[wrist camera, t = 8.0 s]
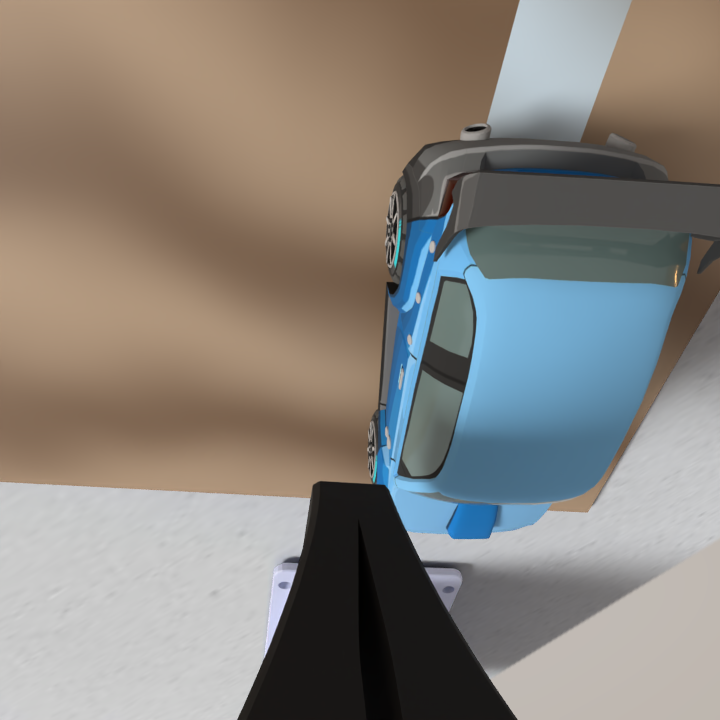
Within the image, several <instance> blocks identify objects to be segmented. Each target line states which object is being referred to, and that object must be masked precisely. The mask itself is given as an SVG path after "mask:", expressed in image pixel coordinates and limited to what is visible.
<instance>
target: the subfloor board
mask: <svg viewBox="0 0 720 720" xmlns="http://www.w3.org/2000/svg"><path fill="white" fill-rule="evenodd" d="M480 123H484V124H488V125H490V126H491V134H490V138H528V139H542V140H556V141H570V142H580V143H589V144H597V145H603V146H605V144H606V142H607V140H608V137H609V135H610V134H611V133H615V134H618V135H620V136H622V137H624V138H626V139H628V140H630V141H632V142H633V143H635V144H636V145H637V146H636V149H635V151H634V152H635V153H638V154H641V155H645V156H647V157H649V158H651V159H652V160H654V161H656V162H658V163H660V164H661V165H663V166H664V167H665V169H666V170H667V173H668V180H669V181H680V182H694V183H708V184H720V0H0V482H14V483H33V484H52V485H72V486H91V487H110V488H129V489H148V490H167V491H186V492H205V493H225V494H244V495H263V496H282V497H301V498H311V492H312V486H313V484H315V483H317V482H319V481H329V482H346V483H364V484H372V481H371V477H370V473H369V469H368V451H367V448H368V430H369V427H370V422H371V419H372V416H373V414H374V412H375V411H376V410H377V409H378V399H379V384H380V369H381V354H382V340H383V325H384V310H385V295H386V282H393V280H392V278H391V276H390V274H389V270H388V265H387V263H386V260H387V259H386V247H385V240H386V226H387V221H386V217H387V216H388V208H389V203H390V196H391V195H392V192H393V189H394V186H395V185H396V183H397V180H398V179H399V178H400V177H401V176H403V173H402V171H403V170H404V168H405V167H406V165H407V164H408V162H409V161H410V160H411V159H412V158H413V157H414V156H415V155H416V154H417V153H418V152H419V151H420V149H421V148H422V147H423V146H424V145H426V144H431V143H436V142H441V141H451V140H460V135H461V131H462V129H463V128H465V127H467V126H469V125H473V124H480ZM713 242H714V241H708V240H703V239H698V238H694V237H692V246H691V257H690V263H689V267H688V272H687V276H686V280H685V283H684V286H683V289H682V292H681V295H680V298H679V300H678V302H677V304H676V307H675V309H674V312H673V315H672V317H671V321H670V324H669V327H668V330H667V333H666V336H665V340H664V343H663V346H662V349H661V353H660V356H659V359H658V362H657V365H656V367H655V370H654V372H653V375H652V377H651V380H650V382H649V385H648V388H647V390H646V393H645V395H644V398H643V401H642V403H641V405H640V407H639V409H638V411H637V413H636V415H635V417H634V419H633V421H632V423H631V425H630V427H629V429H628V431H627V433H626V435H625V437H624V439H623V441H622V443H621V445H620V447H619V449H618V451H617V453H616V454H615V456H614V458H613V460H612V462H611V463H610V465H609V467H608V469H607V470H606V472H605V474H604V475H603V477H602V479H601V480H600V481H599V482H598V483H597V484H596V485H595V487H593V488H591V489H590V490H589V491H587V492H586V493H584V494H583V495H580V496H578V497H576V498H574V499H571V500H568V501H563V502H558V503H552V504H551V506H550V507H549V508H548V510H550V511H569V512H588V511H589V509H590V508H591V506H592V504H593V502H594V501H595V499H596V497H597V496H598V494H599V492H600V491H601V489H602V487H603V486H604V484H605V482H606V481H607V479H608V477H609V476H610V474H611V472H612V471H613V469H614V467H615V465H616V464H617V462H618V460H619V459H620V457H621V455H622V454H623V452H624V450H625V449H626V447H627V445H628V444H629V442H630V440H631V439H632V437H633V435H634V434H635V432H636V430H637V428H638V427H639V425H640V423H641V422H642V420H643V418H644V417H645V415H646V413H647V412H648V410H649V408H650V407H651V405H652V403H653V402H654V400H655V398H656V396H657V395H658V393H659V391H660V390H661V388H662V386H663V385H664V383H665V381H666V380H667V378H668V376H669V375H670V373H671V371H672V370H673V368H674V366H675V365H676V363H677V361H678V359H679V358H680V356H681V354H682V353H683V351H684V349H685V348H686V346H687V344H688V343H689V341H690V339H691V338H692V336H693V334H694V333H695V331H696V329H697V327H698V326H699V324H700V322H701V321H702V319H703V317H704V316H705V314H706V312H707V311H708V309H709V307H710V306H711V304H712V302H713V301H714V299H715V297H716V296H717V294H718V292H719V290H720V258H718V259H717V260H715V261H713V262H712V263H711V264H710V265H709V266H708V267H707V268H706V269H705V270H704V271H703V272H702V273H701V274H697V271H698V268H699V265H700V262H701V260H702V258H703V257H704V255H705V254H706V253H707V251H708V250H709V248H710V247H711V245H712V244H713Z"/></svg>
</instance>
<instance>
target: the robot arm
mask: <svg viewBox="0 0 720 720" xmlns="http://www.w3.org/2000/svg"><path fill="white" fill-rule="evenodd" d="M462 580H463V579H462V575H461V573H460V571H459V570H457V569H453V568H427V567H424V566H423V564H422V562H421V560H420V558H419V556H418V554H417V552H416V550H415V548H414V546H413V544H412V542H411V539H410V537H409V535H408V533H407V531H406V529H405V527H404V524H403V522H402V520H401V518H400V515H399V513H398V511H397V508H396V506H395V504H394V501H393V499H392V496H391V494H390V491H389V489H388V488H387V487H386V486H385V485H381V484H364V483H346V482H329V481H319V482H317V483H315V484H313V486H312V492H311V499H310V506H309V512H308V519H307V525H306V532H305V538H304V545H303V550H302V553H301V557H300V560H299V563H281V564H279V565H277V566H276V567H275V568H274V573H273V582H272V591H271V600H270V609H269V619H268V628H267V637H266V646H265V655H264V660H263V663H262V665H261V667H260V670H259V672H258V675H257V677H256V679H255V681H254V684H253V686H252V688H251V691H250V693H249V695H248V697H247V700H246V702H245V704H244V706H243V709H242V711H241V713H240V715H239V717H238V719H237V720H517V718H516V717H515V715H514V714H513V713H512V711H511V710H510V708H509V707H508V705H507V704H506V702H505V701H504V700H503V698H502V696H501V695H500V694H499V692H498V691H497V689H496V688H495V686H494V685H493V683H492V682H491V680H490V679H489V677H488V676H487V674H486V673H485V671H484V670H483V668H482V666H481V665H480V663H479V662H478V660H477V659H476V657H475V655H474V654H473V652H472V651H471V649H470V647H469V646H468V644H467V642H466V641H465V639H464V637H463V636H462V634H461V632H460V631H459V629H458V627H457V626H456V624H455V622H454V621H453V619H452V617H451V615H450V614H449V611H450V609H451V607H452V604H453V602H454V600H455V598H456V595H457V593H458V591H459V589H460V586H461V584H462Z"/></svg>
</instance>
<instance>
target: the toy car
mask: <svg viewBox="0 0 720 720" xmlns="http://www.w3.org/2000/svg"><path fill="white" fill-rule="evenodd" d="M490 134H491V126H490V125H488V124H484V123H480V124H473V125H469V126H467V127H465V128H463V129H462V131H461V135H460V140H451V141H441V142H436V143H431V144H426V145H424V146H423V147H422V148H421V149H420V151H419V152H418V153H417V154H416V155H415V156H414V157H413V158H412V159H411V160H410V161H409V162H408V164H407V165H406V167H405V168H404V170H403V171H402V173H403V176H401V177H400V178H399V179H398V180H397V183H396V185H395V186H394V189H393V192H392V195H391V196H390V203H389V208H388V216H387V217H386V221H387V226H386V240H385V247H386V259H387V260H386V263H387V265H388V270H389V274H390V276H391V278H392V280H393V282H386V295H385V310H384V325H383V340H382V354H381V369H380V384H379V399H378V409H377V410H376V411H375V412H374V414H373V416H372V419H371V422H370V427H369V430H368V448H367V451H368V469H369V473H370V477H371V481H372V484H381V485H385V486H386V487H387V488H388V489H389V491H390V494H391V496H392V499H393V501H394V504H395V506H396V508H397V511H398V513H399V515H400V518H401V520H402V522H403V524H404V527H405V529H406V531H410V532H417V533H436V534H449V535H450V536H451V537H452V538H453V539H487V538H489V537H490V535H491V533H492V532H503V531H511V530H516V529H519V528H522V527H525V526H528V525H533V524H534V523H535V522H537V521H538V520H539V519H540V518H541V517H542V516H543V514H544V513H545V512H546V511H547V510H548V508H549V507H550V506H551V504H552V503H558V502H563V501H568V500H571V499H574V498H576V497H578V496H580V495H583V494H584V493H586V492H587V491H589V490H590V489H591V488H593V487H595V485H596V484H597V483H598V482H599V481H600V480H601V479H602V477H603V475H604V474H605V472H606V470H607V469H608V467H609V465H610V463H611V462H612V460H613V458H614V456H615V454H616V453H617V451H618V449H619V447H620V445H621V443H622V441H623V439H624V437H625V435H626V433H627V431H628V429H629V427H630V425H631V423H632V421H633V419H634V417H635V415H636V413H637V411H638V409H639V407H640V405H641V403H642V401H643V398H644V395H645V393H646V390H647V388H648V385H649V382H650V380H651V377H652V375H653V372H654V370H655V367H656V365H657V362H658V359H659V356H660V353H661V349H662V346H663V343H664V340H665V336H666V333H667V330H668V327H669V324H670V321H671V317H672V315H673V312H674V309H675V307H676V304H677V302H678V300H679V298H680V295H681V292H682V289H683V286H684V283H685V280H686V276H687V272H688V267H689V263H690V257H691V246H692V237H694V238H698V239H703V240H708V241H714V242H713V244H712V245H711V247H710V248H709V250H708V251H707V253H706V254H705V255H704V257H703V258H702V260H701V262H700V265H699V268H698V271H697V274H701V273H702V272H703V271H704V270H705V269H706V268H707V267H708V266H709V265H710V264H711V263H712V262H713V261H715V260H717V259H718V258H720V184H708V183H694V182H680V181H669V180H668V173H667V170H666V169H665V167H664V166H663V165H661V164H660V163H658V162H656V161H654V160H652V159H651V158H649V157H647V156H645V155H641V154H638V153H635V152H634V151H635V149H636V146H637V145H636V144H635V143H633V142H632V141H630V140H628V139H626V138H624V137H622V136H620V135H618V134H615V133H611V134H610V135H609V137H608V140H607V142H606V144H605V146H603V145H597V144H589V143H580V142H570V141H556V140H542V139H528V138H490Z"/></svg>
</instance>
